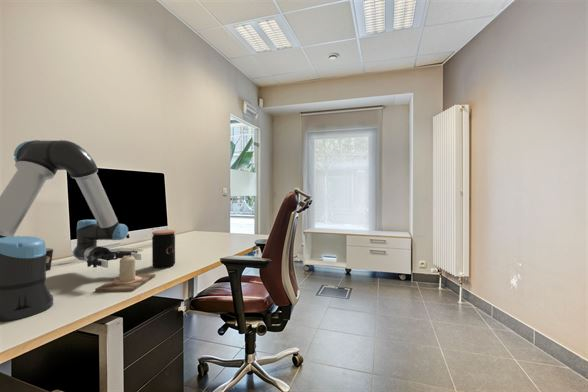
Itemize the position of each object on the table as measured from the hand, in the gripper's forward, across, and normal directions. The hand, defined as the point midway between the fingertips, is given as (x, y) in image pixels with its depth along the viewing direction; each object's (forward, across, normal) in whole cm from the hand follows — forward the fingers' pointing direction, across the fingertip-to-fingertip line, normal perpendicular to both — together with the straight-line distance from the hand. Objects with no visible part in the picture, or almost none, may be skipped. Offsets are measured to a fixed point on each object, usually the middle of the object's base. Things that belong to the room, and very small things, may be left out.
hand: (124, 260), depth 113 cm
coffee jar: (-8, -24, -9) cm, 27 cm away
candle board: (+3, 0, -9) cm, 10 cm away
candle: (+3, 0, -8) cm, 8 cm away
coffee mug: (-54, +11, -9) cm, 55 cm away
